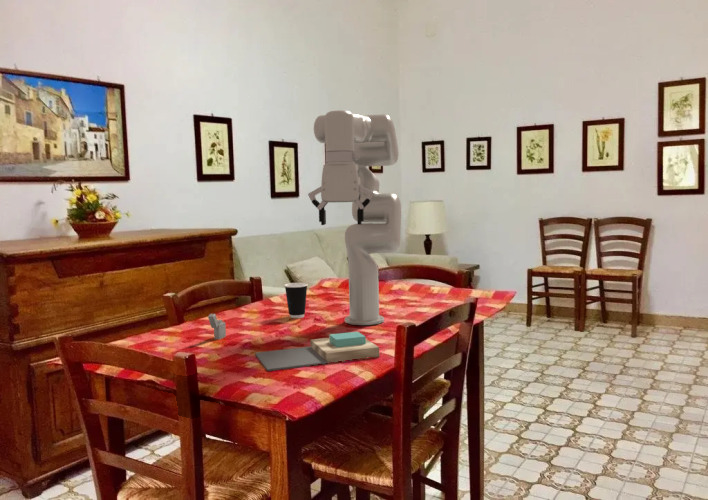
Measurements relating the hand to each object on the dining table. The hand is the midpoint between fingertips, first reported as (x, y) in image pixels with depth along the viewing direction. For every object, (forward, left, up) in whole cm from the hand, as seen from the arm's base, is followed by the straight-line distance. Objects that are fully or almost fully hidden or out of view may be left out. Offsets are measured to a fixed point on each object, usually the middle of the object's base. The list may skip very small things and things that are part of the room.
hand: (341, 224), depth 162 cm
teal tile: (+4, 0, -31) cm, 31 cm away
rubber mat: (+4, -16, -34) cm, 37 cm away
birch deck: (+4, -1, -34) cm, 34 cm away
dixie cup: (-46, -1, -34) cm, 57 cm away
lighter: (-26, -30, -34) cm, 52 cm away
